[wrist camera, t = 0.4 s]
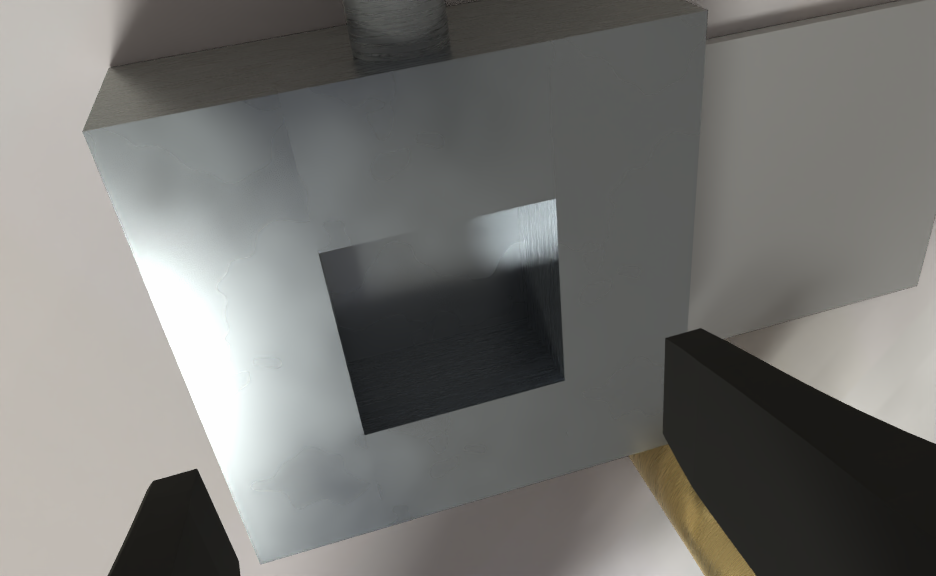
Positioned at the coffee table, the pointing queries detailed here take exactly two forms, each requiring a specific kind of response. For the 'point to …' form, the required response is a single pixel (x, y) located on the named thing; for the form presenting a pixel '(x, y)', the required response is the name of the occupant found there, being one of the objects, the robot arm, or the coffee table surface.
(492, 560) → the coffee table surface
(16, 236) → the coffee table surface
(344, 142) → the chuck block
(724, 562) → the gold metal cylinder
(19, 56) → the coffee table surface
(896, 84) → the rubber mat
